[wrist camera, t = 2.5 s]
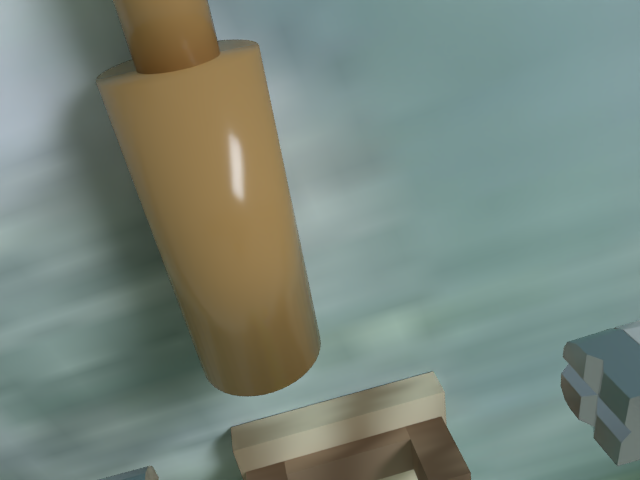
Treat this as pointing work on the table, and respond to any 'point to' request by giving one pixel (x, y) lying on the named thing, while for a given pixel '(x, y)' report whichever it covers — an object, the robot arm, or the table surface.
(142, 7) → the amber bottle
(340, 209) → the table surface
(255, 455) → the bottle rest
